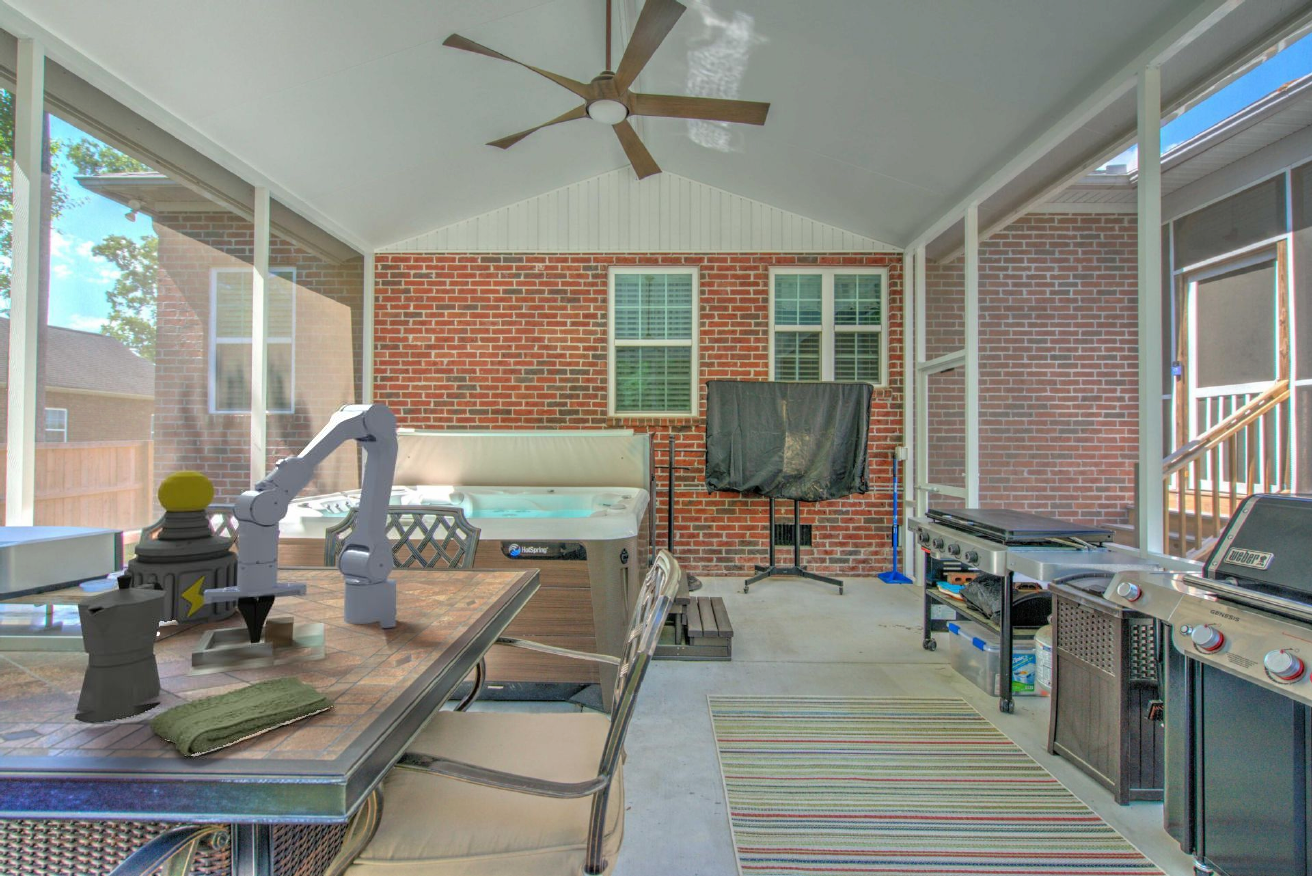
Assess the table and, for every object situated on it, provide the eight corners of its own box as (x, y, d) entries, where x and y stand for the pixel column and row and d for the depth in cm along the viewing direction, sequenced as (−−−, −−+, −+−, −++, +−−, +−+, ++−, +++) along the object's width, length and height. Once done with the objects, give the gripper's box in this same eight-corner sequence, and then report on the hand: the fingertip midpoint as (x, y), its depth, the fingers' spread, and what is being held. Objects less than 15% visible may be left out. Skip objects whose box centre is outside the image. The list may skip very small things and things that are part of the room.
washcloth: (339, 712, 84) (340, 689, 84) (187, 767, 69) (188, 739, 69) (290, 689, 91) (291, 667, 91) (143, 735, 77) (144, 709, 77)
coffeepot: (131, 727, 77) (135, 585, 78) (41, 734, 75) (46, 587, 76) (193, 681, 92) (197, 561, 93) (120, 685, 90) (124, 563, 91)
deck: (323, 630, 118) (324, 612, 118) (324, 667, 99) (324, 646, 99) (209, 643, 110) (209, 623, 110) (185, 686, 90) (186, 663, 90)
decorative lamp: (112, 619, 123) (116, 469, 123) (223, 601, 137) (227, 467, 137) (132, 639, 110) (137, 473, 111) (252, 618, 125) (256, 471, 125)
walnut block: (292, 639, 108) (293, 616, 108) (291, 646, 104) (293, 622, 105) (265, 641, 106) (267, 618, 106) (264, 648, 103) (265, 624, 103)
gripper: (201, 568, 97) (198, 654, 97) (306, 562, 104) (304, 642, 104) (208, 560, 103) (206, 641, 103) (307, 555, 110) (305, 631, 110)
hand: (255, 641), depth 104 cm, fingers closed
